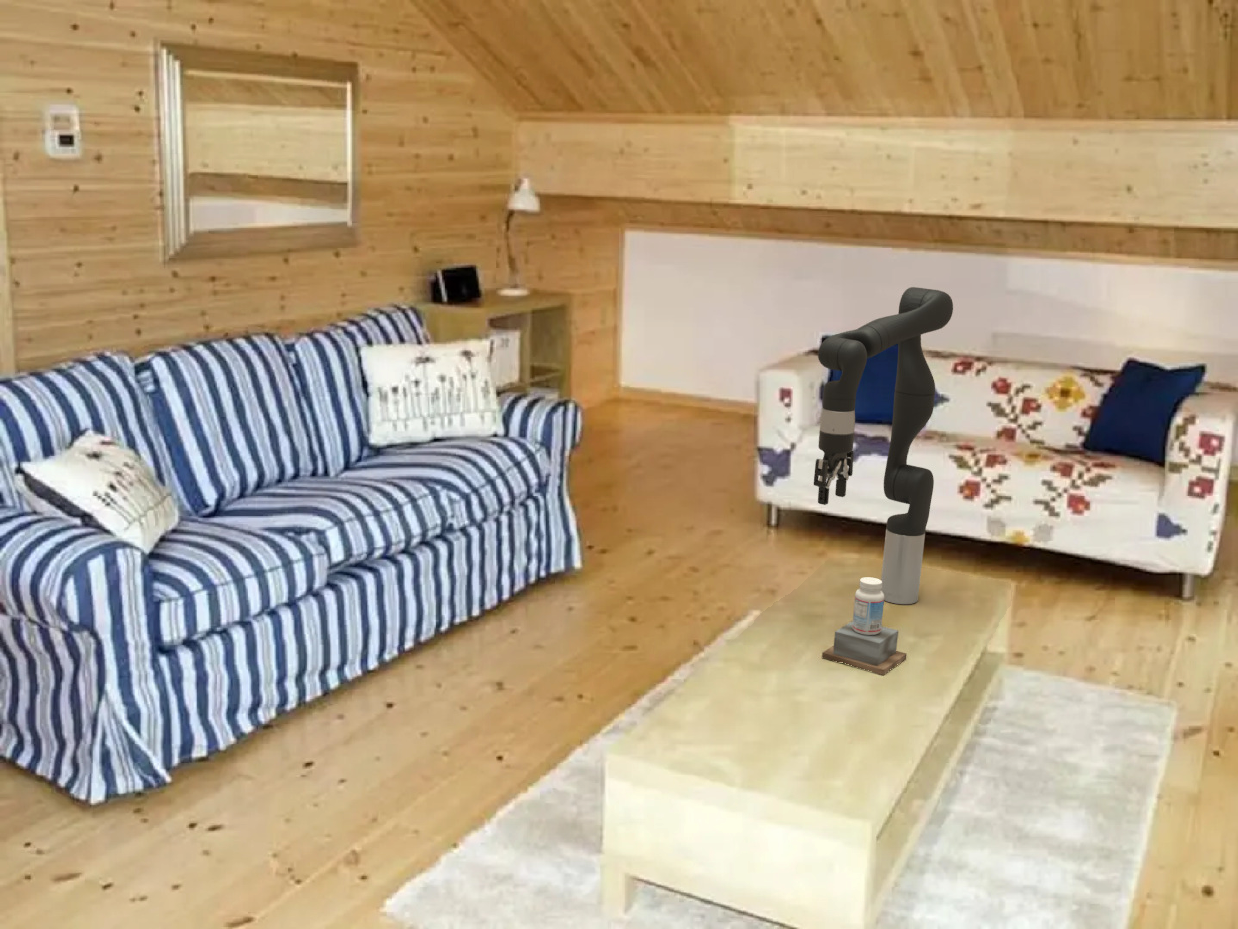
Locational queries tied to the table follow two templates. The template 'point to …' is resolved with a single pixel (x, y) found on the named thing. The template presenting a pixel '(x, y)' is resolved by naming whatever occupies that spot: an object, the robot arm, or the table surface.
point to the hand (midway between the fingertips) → (831, 500)
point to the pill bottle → (868, 607)
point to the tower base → (866, 649)
